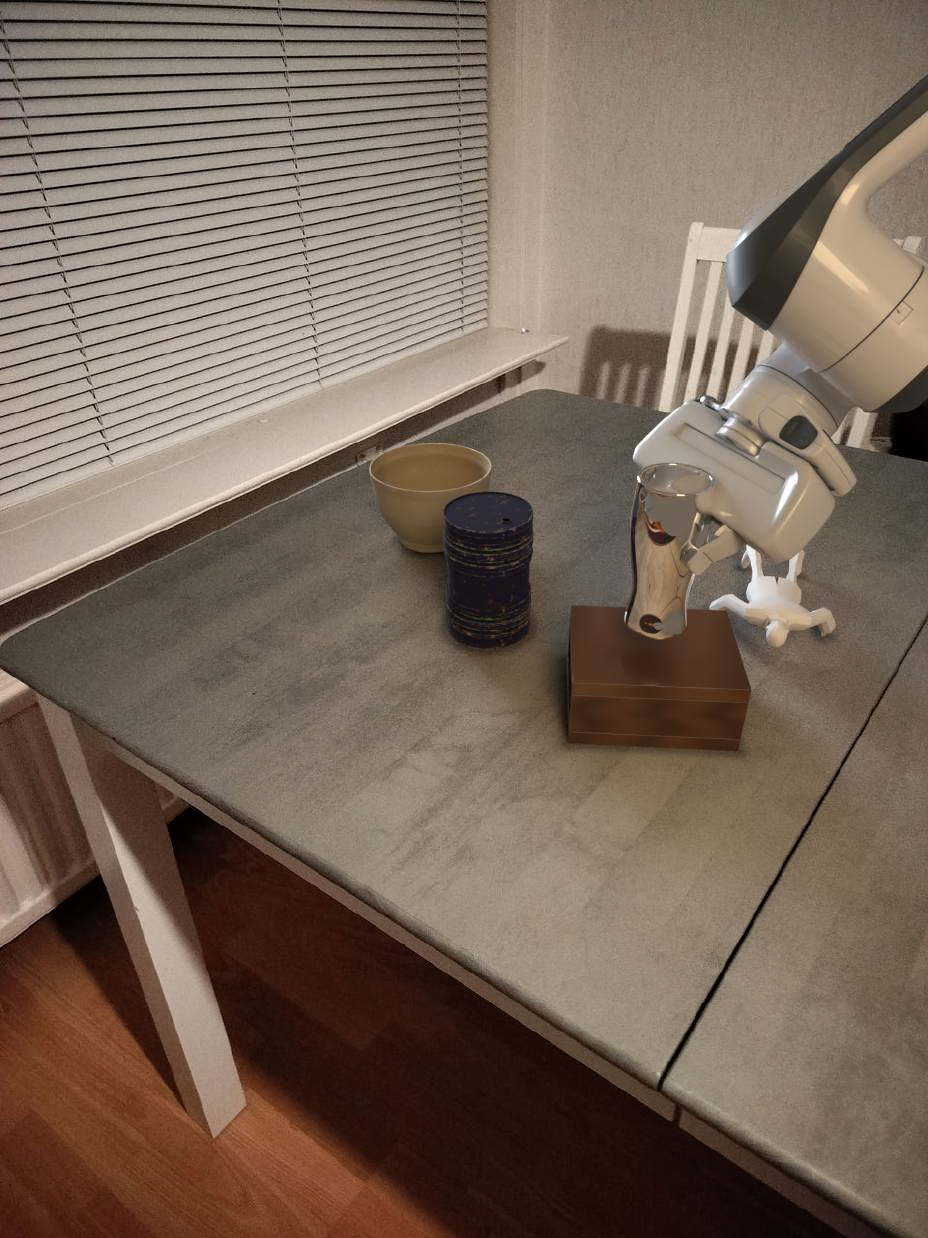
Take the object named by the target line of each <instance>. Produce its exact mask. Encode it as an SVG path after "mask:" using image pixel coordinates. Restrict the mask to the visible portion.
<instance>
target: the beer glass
mask: <svg viewBox="0 0 928 1238" xmlns="http://www.w3.org/2000/svg"><path fill="white" fill-rule="evenodd" d="M688 475H701V476H704V477H705V478H707V479H708V480H709V482H710V483H711V486H710V487H709V488H707V489H705V490H703V491H700V492H695V493H678V492H677V491H675V490H674V489H673V488H672V487H671V484H672V483H673V482H674V481H675V480H677V479H679V478H681V477H684V476H688ZM715 485H716V480H715V478H714V476H713V475H712V474H711V473H709V472H708V471H706V470H704V469H702V468H699V467H696V466H693V465H689V464H683V463H658V464H653V465H649V466H647V467H645V468H643V469H642V470H641V469H639V472H637V478H636V484H635V489H634V494H633V498H632V505H631V509H630V510H631V511H630V517H629V519H630V521H629V530H628V532H629V533H628V534H629V537H628V538H629V540H628V541H629V556H630V565H631V567H630V569H631V590H630V595H629V599H628V602H627V605H626V606H625V607H626V610H625V614H624V622H625V625H626V626H627V627H628V629H629V630H631V631H632V632H633V633H635V634H637V635H639V636H641V637H644V638H647V639H652V640H670V639H674V638H677V637H679V636H681V635H683V634H684V633H685V632H686V631H687V629H688V626H689V617H688V609H689V597H690V593H691V589H692V586H693V583H694V580H695V578H696V575H695V574H694V573H692V572H691V571H690V570H689V569H688V568H686V567H685V566H684V565H683V564H682V563H681V562H680V559H681V557H682V556H683V555H684V554H686V553H687V551H688V550H689V549H690V548H691V547H692V546H693V545H694V546H695V547H696V548H698V549H699V548H700V547H702V546H704V545H706V544H707V543H709V539H710V538H709V537H710V533H711V528H712V522H713V521H712V515H711V514H710V509H711V506H712V502H713V499H714V493H715Z"/></svg>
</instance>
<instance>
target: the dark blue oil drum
mask: <svg viewBox="0 0 928 1238" xmlns="http://www.w3.org/2000/svg"><path fill="white" fill-rule="evenodd" d="M443 516H444V531H443V540H444V546H445V547H444V552H443V554H444V559H445V561H446V564H447V568H446V569H447V582H446V585H445V611H446V617H447V631H448V633H449V635H450V637H451V638H452V639H453V640H454V641H456V642H457V643H459V644H460V645H462V646H464V647H467V648H471V649H475V650H481V651H482V650H483V651H495V650H502V649H506V648H511V647H513V646H515V645H517V644H519V643H520V642H522V641H523V640H524V639H526V637H527V636H528V635H529V633H530V628H531V622H530V621H531V620H530V618H531V612H532V584H531V582H530V566H531V565H530V563H531V561H532V559H533V554H534V547H533V546H534V533H535V532H534V521H533V520H534V508H533V506H532V504H531V503H530V502H529V501H528V500H526V499H525V498H524V497H521V496H519V495H516V494H513V493H509V492H504V491H495V490H493V491H491V490H489V491H483V492H474V493H469V494H465V495H462V496H459V497H457V498H454V499H453V500H451V501H450V502H449V503H447V505H446V506H445V508H444V511H443Z"/></svg>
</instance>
